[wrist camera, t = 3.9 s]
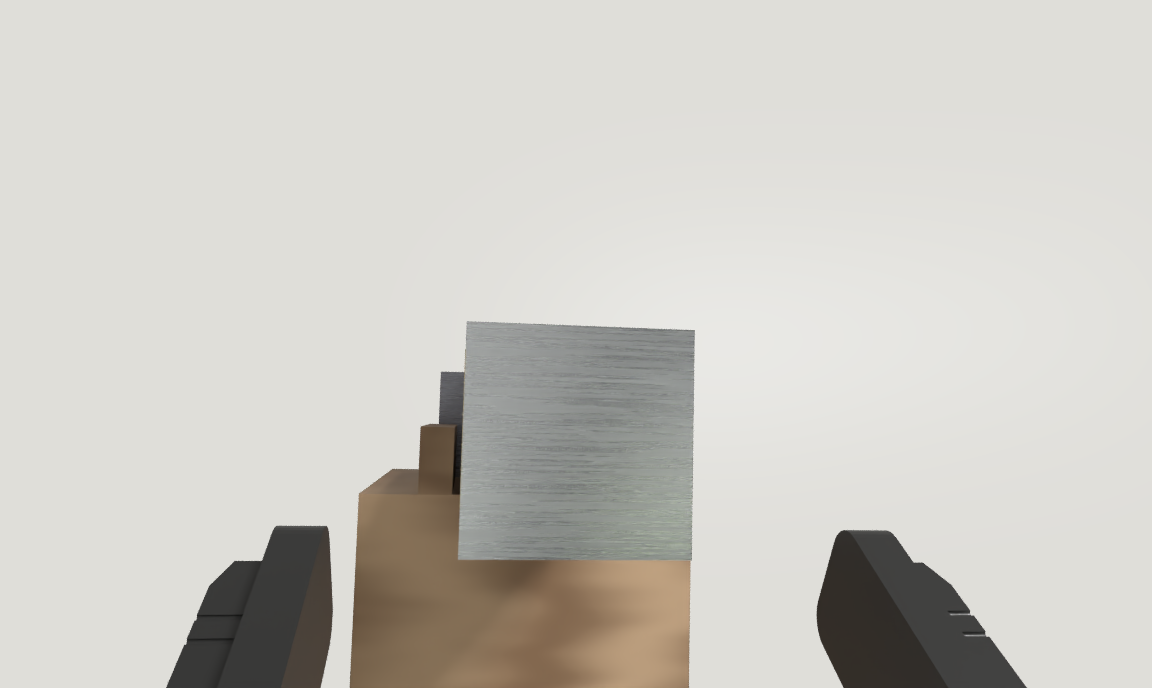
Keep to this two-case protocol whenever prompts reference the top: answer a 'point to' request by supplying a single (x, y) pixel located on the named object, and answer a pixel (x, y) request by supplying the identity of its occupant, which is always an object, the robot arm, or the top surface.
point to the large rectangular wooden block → (500, 601)
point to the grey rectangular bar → (573, 442)
